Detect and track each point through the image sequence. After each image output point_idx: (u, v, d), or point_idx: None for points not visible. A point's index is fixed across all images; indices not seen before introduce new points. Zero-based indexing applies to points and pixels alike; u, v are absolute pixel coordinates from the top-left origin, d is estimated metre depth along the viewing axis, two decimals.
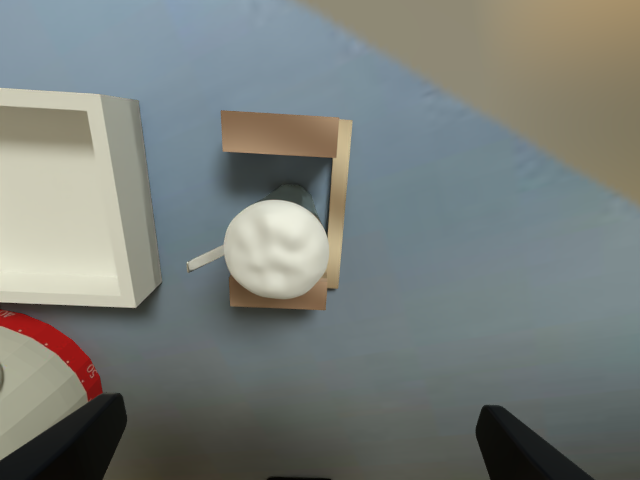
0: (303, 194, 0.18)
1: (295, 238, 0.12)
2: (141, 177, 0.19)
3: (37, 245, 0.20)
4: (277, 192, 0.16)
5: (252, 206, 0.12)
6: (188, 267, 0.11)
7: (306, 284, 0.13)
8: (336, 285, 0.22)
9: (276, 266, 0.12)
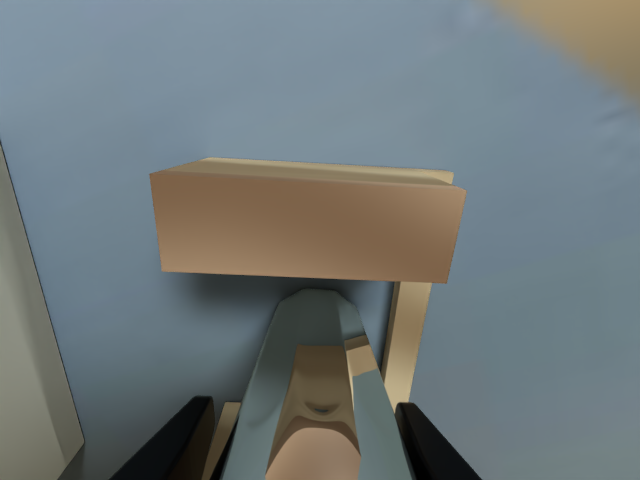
0: (353, 343, 0.08)
1: None
2: (14, 286, 0.09)
3: None
4: (299, 381, 0.06)
5: None
6: None
7: None
8: None
9: None
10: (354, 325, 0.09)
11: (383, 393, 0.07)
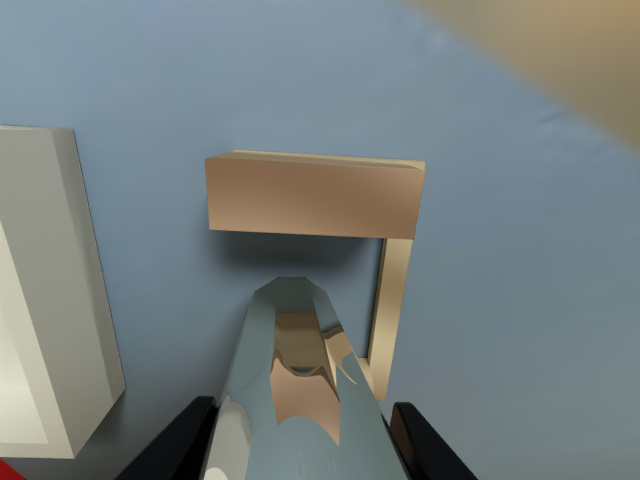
0: (325, 320, 0.09)
1: None
2: (82, 251, 0.12)
3: None
4: (281, 350, 0.07)
5: None
6: None
7: None
8: (383, 396, 0.15)
9: None
10: (325, 306, 0.10)
11: (353, 358, 0.08)
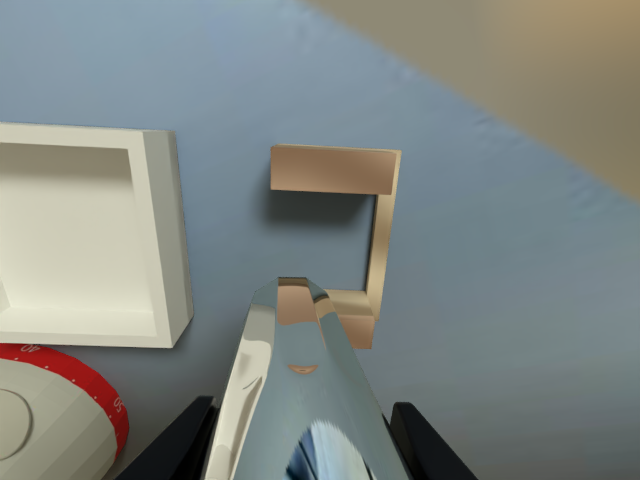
0: (326, 320, 0.09)
1: None
2: (177, 211, 0.18)
3: (66, 280, 0.20)
4: (282, 350, 0.07)
5: None
6: None
7: None
8: (376, 318, 0.21)
9: None
10: (326, 306, 0.10)
11: (354, 358, 0.08)
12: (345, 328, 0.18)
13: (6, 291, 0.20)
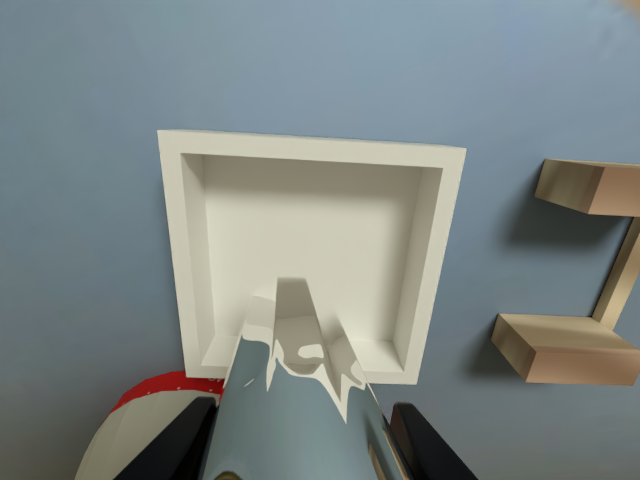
0: (325, 318, 0.09)
1: None
2: None
3: None
4: (281, 349, 0.07)
5: None
6: None
7: None
8: None
9: None
10: (325, 305, 0.10)
11: (353, 357, 0.08)
12: (613, 364, 0.16)
13: (214, 318, 0.18)
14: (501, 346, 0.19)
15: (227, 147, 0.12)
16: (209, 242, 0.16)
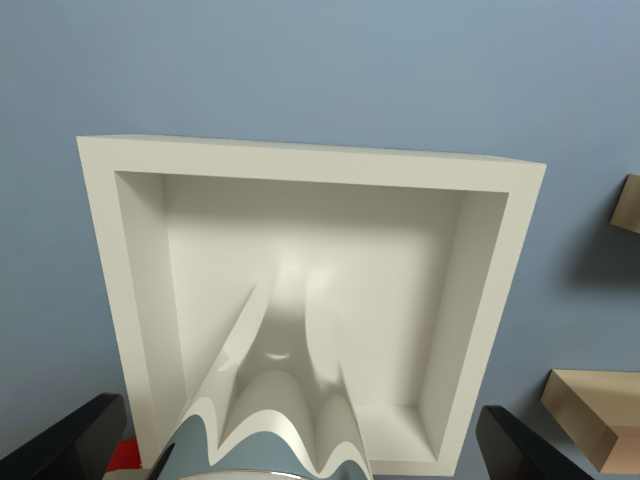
0: (315, 314, 0.09)
1: None
2: None
3: None
4: (262, 338, 0.08)
5: None
6: None
7: None
8: None
9: None
10: (319, 301, 0.10)
11: (335, 352, 0.08)
12: None
13: (185, 380, 0.14)
14: (557, 413, 0.15)
15: (185, 162, 0.08)
16: (175, 285, 0.12)
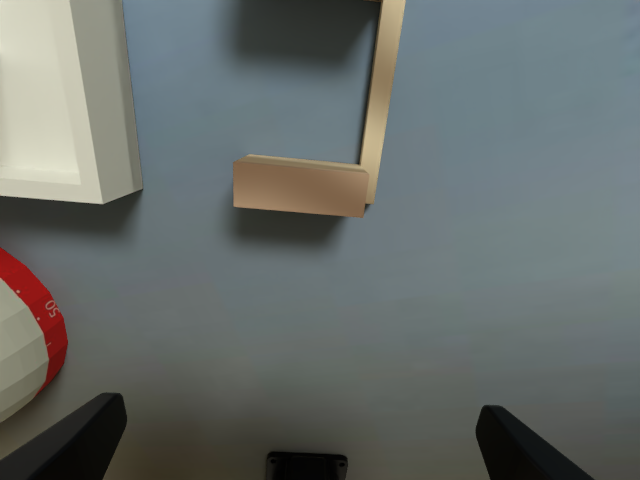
0: None
1: None
2: (113, 20, 0.14)
3: None
4: None
5: None
6: None
7: None
8: (371, 199, 0.17)
9: None
10: None
11: None
12: (330, 184, 0.14)
13: None
14: None
15: None
16: None
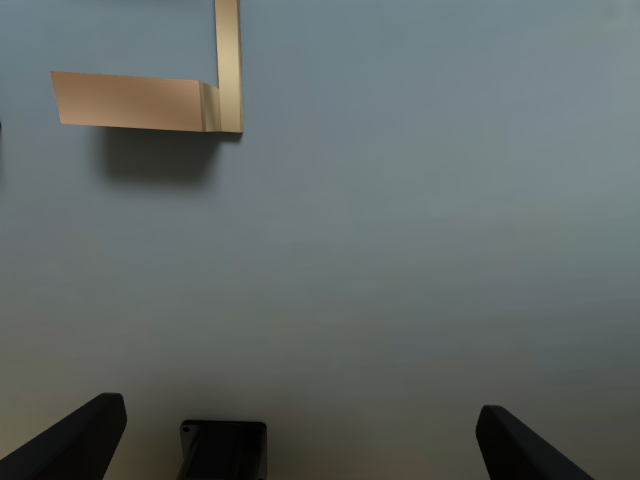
0: None
1: None
2: None
3: None
4: None
5: None
6: None
7: None
8: (238, 127, 0.16)
9: None
10: None
11: None
12: (159, 93, 0.13)
13: None
14: None
15: None
16: None
